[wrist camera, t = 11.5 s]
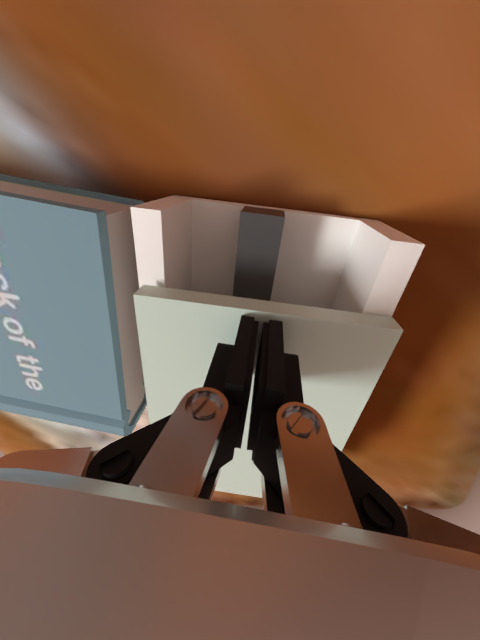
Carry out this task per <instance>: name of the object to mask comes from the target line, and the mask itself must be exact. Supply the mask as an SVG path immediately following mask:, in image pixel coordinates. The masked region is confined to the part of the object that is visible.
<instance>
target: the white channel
mask: <svg viewBox="0 0 480 640" xmlns="http://www.w3.org/2000/svg"><path fill="white" fill-rule="evenodd" d="M130 209H131V218H132V227H133V236H134V245H135V254H136V263H137V272H138V281H139V288H140V287H141V286H142V285H151V286H159V287H166V288H174V289H181V290H189V291H197V292H204V293H212V294H219V295H227V296H235V297H242V298H250V299H257V300H265V301H272V302H280V303H288V304H295V305H303V306H310V307H318V308H326V309H333V310H341V311H348V312H356V313H364V314H371V315H379V316H386V317H392V315H393V313H394V311H395V308H396V306H397V304H398V302H399V300H400V298H401V296H402V293H403V291H404V289H405V287H406V285H407V283H408V281H409V279H410V276H411V274H412V272H413V270H414V268H415V266H416V264H417V261H418V259H419V257H420V255H421V253H422V251H423V249H424V247H425V244H423V243H421V242H419V241H417V240H416V239H414V238H412V237H410V236H408V235H406V234H404V233H402V232H400V231H398V230H396V229H394V228H392V227H390V226H388V225H386V224H384V223H382V222H381V221H379V220H371V219H363V218H355V217H347V216H339V215H331V214H323V213H315V212H307V211H299V210H291V209H283V208H275V207H267V206H259V205H251V204H243V203H235V202H227V201H219V200H211V199H203V198H195V197H187V196H179V195H172V196H169V197H165V198H161V199H157V200H154V201H150V202H146V203H142V204H139V205H135V206H131V207H130Z"/></svg>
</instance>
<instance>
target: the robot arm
mask: <svg viewBox="0 0 480 640" xmlns="http://www.w3.org/2000/svg"><path fill="white" fill-rule="evenodd" d="M258 325H259V321H254V317H250V316H244V315H241V319H240V323H239V328H238V332H237V336H236V340H235V344H234V345H230V344H224V343H218V344H217V347H216V350H215V353H214V356H213V359H212V362H211V364H210V367H209V370H208V373H207V376H206V379H205V382H204V385H203V387H199V388H196V389H193V390H191V391H189V392H188V393H186V394H185V396H184V397H183V398H182V399H181V401H180V403H179V404H178V406H177V407H176V409H175V411H174V412H173V414H171V415H169V416H167V417H164V418H162V419H160V420H158V421H156V422H154V423H152V424H150V425H148V426H146V427H144V428H142V429H140V430H138V431H136V432H134V433H132V434H129V435H127V436H125V437H123V438H121V439H119V440H117V441H115V442H113V443H111V444H109V445H108V446H106V447H104V448H103V449H101V450H100V451H93V449H92V447H88V448H68V449H49V450H29V451H19V452H14V453H10V454H8V455H6V456H3V457H1V458H0V640H480V535H478V534H476V533H474V532H471V531H469V530H466V529H464V528H462V527H459V526H457V525H454V524H452V523H449V522H447V521H444V520H442V519H440V518H437V517H435V516H432V515H430V514H428V513H425V512H423V511H420V510H418V509H416V508H413V507H411V506H408V505H406V506H405V507H404V508H403V507H401V506H398V505H397V503H396V502H395V501H394V500H393V499H392V498H391V497H390V496H389V494H387V493H386V492H385V491H384V490H383V489H382V488H381V487H380V486H379V485H378V484H376V483H375V482H374V481H373V480H372V479H371V478H370V477H369V476H368V475H366V474H365V473H364V472H363V471H362V470H361V469H360V468H359V467H358V466H357V465H355V464H354V463H353V462H352V461H351V460H350V459H349V458H348V457H347V456H346V455H344V454H343V453H342V452H341V451H340V450H339V449H338V448H337V447H336V446H335V445H333V444H332V441H331V438H330V436H329V433H328V430H327V427H326V424H325V422H324V420H323V418H322V416H321V415H320V414H319V413H318V412H317V411H316V410H315V409H314V408H312V407H311V406H309V405H306V404H304V400H303V392H302V383H301V375H300V366H299V358H298V355H295V354H288V353H284V340H283V321H277V320H270V319H269V323H267V322H264V324H263V329H262V335H261V341H260V347H259V353H258V358H257V364H256V370H255V377H254V385H253V395H252V404H251V413H250V423H249V432H248V441H247V450H252V460H251V461H253V463H254V464H255V466H256V467H257V468H258V469H259V471H260V472H261V487H262V499H263V510H259V509H254V508H248V507H243V506H238V505H233V504H227V503H222V502H217V501H211V499H212V496H213V493H214V490H215V487H216V484H217V481H218V478H219V475H220V473H221V467H222V466H224V465H225V464H227V463H228V462H230V461H231V460H233V456H234V449H235V448H240V449H241V445H242V439H243V433H244V427H245V421H246V415H247V409H248V403H249V397H250V391H251V384H252V376H253V368H254V359H255V351H256V342H257V334H258Z"/></svg>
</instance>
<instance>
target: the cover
mask: <svg viewBox="0 0 480 640" xmlns="http://www.w3.org/2000/svg"><path fill="white" fill-rule="evenodd" d="M133 298H134V306H135V314H136V321H137V329H138V337H139V345H140V353H141V361H142V369H143V377H144V385H145V392H146V400H147V408H148V416H149V424H152V423H154V422H156V421H158V420H160V419H162V418H164V417H167V416H169V415H171V414H173V412H174V411H175V409H176V407H177V406H178V404H179V403H180V401H181V399H182V398H183V397H184V396H185V394H186V393H188V392H189V391H191V390H193V389H196V388H199V387H203V385H204V382H205V379H206V376H207V373H208V370H209V367H210V364H211V362H212V359H213V356H214V353H215V350H216V347H217V344H218V343H224V344H230V345H234V344H235V340H236V336H237V332H238V328H239V323H240V319H241V315H244V316H250V317H254V321H259V325H258V334H257V342H256V351H255V359H254V368H253V376H252V384H251V391H250V397H249V403H248V409H247V415H246V421H245V427H244V433H243V439H242V445H241V449H240V448H235V449H234V456H233V460H231V461H230V462H228V463H227V464H225V465H224V466H222V467H221V473H220V475H219V478H218V481H217V484H216V487H215V491H222V492H228V493H235V494H241V495H248V496H254V497H261V498H262V487H261V472H260V471H259V469H258V468H257V467H256V466H255V464H254V463H253V461H251V460H252V450H247V441H248V432H249V423H250V413H251V404H252V395H253V385H254V377H255V370H256V364H257V358H258V353H259V347H260V341H261V335H262V329H263V324H264V322H267V323H269V319H270V320H277V321H283V340H284V353H288V354H295V355H298V358H299V366H300V375H301V383H302V392H303V400H304V404H306V405H309V406H311V407H312V408H314V409H315V410H316V411H317V412H318V413H319V414H320V415H321V416H322V418H323V420H324V422H325V424H326V427H327V430H328V433H329V436H330V438H331V441H332V444H333V445H335V446H336V447H337V448H338V449H339V450H340V451H342V450H343V448H344V446H345V444H346V442H347V440H348V438H349V436H350V434H351V432H352V430H353V428H354V426H355V424H356V422H357V420H358V418H359V416H360V414H361V412H362V411H363V409H364V407H365V405H366V403H367V401H368V399H369V397H370V395H371V393H372V391H373V389H374V387H375V385H376V383H377V381H378V379H379V377H380V375H381V374H382V372H383V370H384V368H385V366H386V364H387V362H388V360H389V358H390V356H391V354H392V352H393V350H394V348H395V346H396V344H397V342H398V340H399V338H400V336H401V335H402V333H403V331H404V330H403V329H402V328H401V327H400V325H399V324H398V323H397V322H396V321H395V319H394V318H393V317H386V316H379V315H371V314H364V313H356V312H348V311H341V310H333V309H326V308H318V307H310V306H303V305H295V304H288V303H280V302H272V301H265V300H257V299H250V298H242V297H235V296H227V295H219V294H212V293H204V292H197V291H189V290H181V289H174V288H166V287H159V286H151V285H142V286H141V287H140V288H139V289H138V290H137V291H136V292H135V293H134V294H133Z"/></svg>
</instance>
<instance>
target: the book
mask: <svg viewBox="0 0 480 640" xmlns="http://www.w3.org/2000/svg"><path fill="white" fill-rule="evenodd" d="M142 203H144V201H141V200H136V199H130V198H125V197H120V196H115V195H109V194H104V193H99V192H94V191H88V190H83V189H78V188H73V187H67V186H62V185H57V184H51V183H46V182H41V181H36V180H30V179H25V178H20V177H15V176H9V175H4V174H0V410H2V411H7V412H11V413H16V414H21V415H26V416H30V417H35V418H40V419H45V420H49V421H54V422H59V423H64V424H68V425H73V426H78V427H82V428H87V429H92V430H97V431H101V432H106V433H111V434H116V435H120V436H126V435H129V434H131V433H132V431H133V429H134V427H135V425H136V423H137V422H138V420H139V418H140V416H141V414H142V412H143V411H144V409H145V407H146V405H147V400H146V392H145V385H144V377H143V369H142V361H141V353H140V345H139V337H138V329H137V321H136V314H135V306H134V298H133V294H134V293H135V292H136V291H137V290H138V289H139V281H138V272H137V263H136V254H135V245H134V236H133V227H132V218H131V209H130V207H131V206H135V205H139V204H142Z"/></svg>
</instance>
